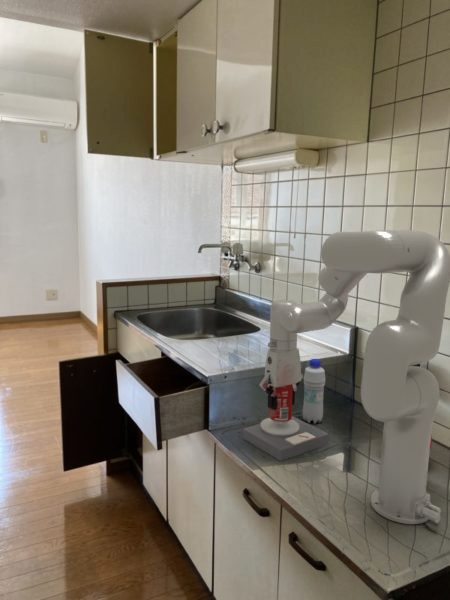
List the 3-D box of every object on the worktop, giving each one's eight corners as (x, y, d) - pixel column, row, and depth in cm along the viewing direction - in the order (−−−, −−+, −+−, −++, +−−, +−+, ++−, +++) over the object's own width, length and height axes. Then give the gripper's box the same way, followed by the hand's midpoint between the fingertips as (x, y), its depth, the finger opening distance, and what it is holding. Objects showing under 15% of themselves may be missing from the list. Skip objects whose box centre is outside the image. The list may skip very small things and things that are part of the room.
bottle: (317, 426, 145) (320, 363, 142) (297, 421, 149) (300, 359, 146) (326, 420, 151) (330, 358, 148) (307, 414, 155) (310, 354, 152)
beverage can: (291, 417, 139) (292, 377, 137) (292, 425, 133) (293, 384, 131) (269, 415, 140) (270, 376, 138) (269, 424, 134) (270, 383, 132)
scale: (328, 443, 134) (329, 430, 134) (280, 461, 124) (281, 446, 123) (289, 424, 147) (289, 411, 146) (243, 438, 137) (243, 425, 136)
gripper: (268, 351, 125) (266, 417, 128) (314, 343, 135) (312, 403, 138) (250, 345, 131) (249, 408, 134) (296, 337, 141) (294, 396, 144)
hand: (281, 405), depth 136 cm, fingers closed on beverage can, 6 cm apart
